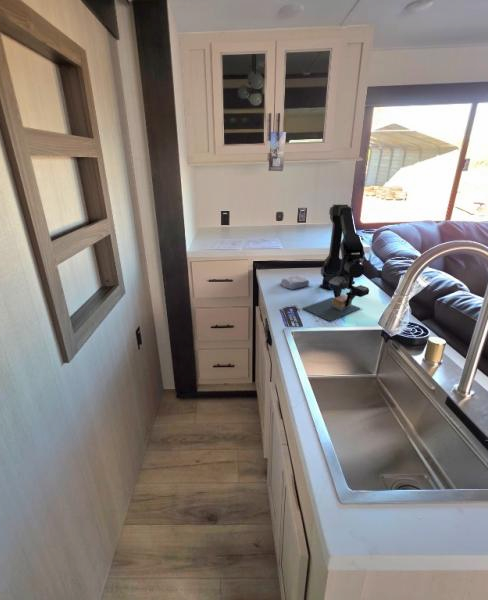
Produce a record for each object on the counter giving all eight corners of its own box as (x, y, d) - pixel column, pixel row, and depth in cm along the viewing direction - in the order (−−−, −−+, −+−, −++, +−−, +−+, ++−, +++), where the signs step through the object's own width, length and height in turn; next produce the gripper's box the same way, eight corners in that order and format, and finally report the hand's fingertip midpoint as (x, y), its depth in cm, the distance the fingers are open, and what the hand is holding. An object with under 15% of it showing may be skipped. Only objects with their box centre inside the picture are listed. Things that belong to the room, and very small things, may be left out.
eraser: (342, 302, 138) (343, 294, 136) (351, 306, 134) (352, 297, 133) (331, 306, 134) (333, 298, 133) (340, 310, 131) (342, 301, 129)
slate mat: (332, 298, 144) (332, 297, 143) (360, 308, 133) (360, 308, 133) (302, 309, 133) (302, 308, 133) (329, 321, 123) (330, 320, 122)
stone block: (278, 287, 161) (291, 290, 152) (278, 278, 160) (291, 280, 151) (297, 284, 166) (310, 286, 157) (297, 275, 165) (310, 277, 156)
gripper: (316, 267, 131) (312, 301, 137) (356, 279, 116) (349, 317, 123) (333, 262, 136) (328, 295, 143) (373, 274, 122) (366, 310, 129)
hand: (341, 304), depth 134 cm, fingers closed on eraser, 4 cm apart
